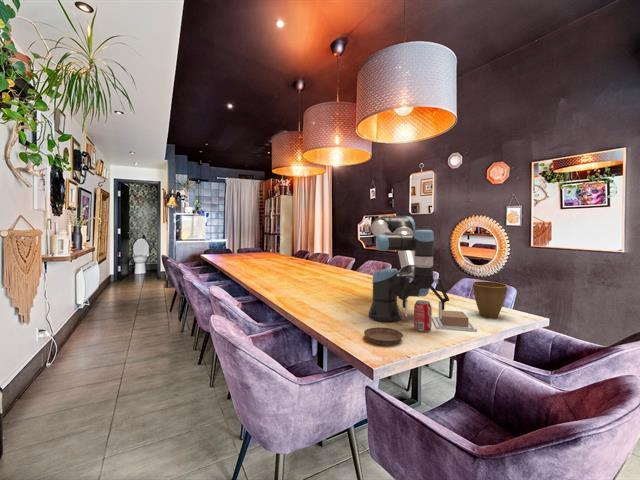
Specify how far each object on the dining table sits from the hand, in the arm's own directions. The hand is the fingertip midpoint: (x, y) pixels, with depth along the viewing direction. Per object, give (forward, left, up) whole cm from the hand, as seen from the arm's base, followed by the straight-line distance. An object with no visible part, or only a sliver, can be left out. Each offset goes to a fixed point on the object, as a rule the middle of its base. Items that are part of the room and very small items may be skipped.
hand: (422, 316), depth 125 cm
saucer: (-16, -15, -6) cm, 23 cm away
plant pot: (+34, +29, -6) cm, 45 cm away
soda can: (0, 0, -6) cm, 6 cm away
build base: (+14, +10, -6) cm, 18 cm away
